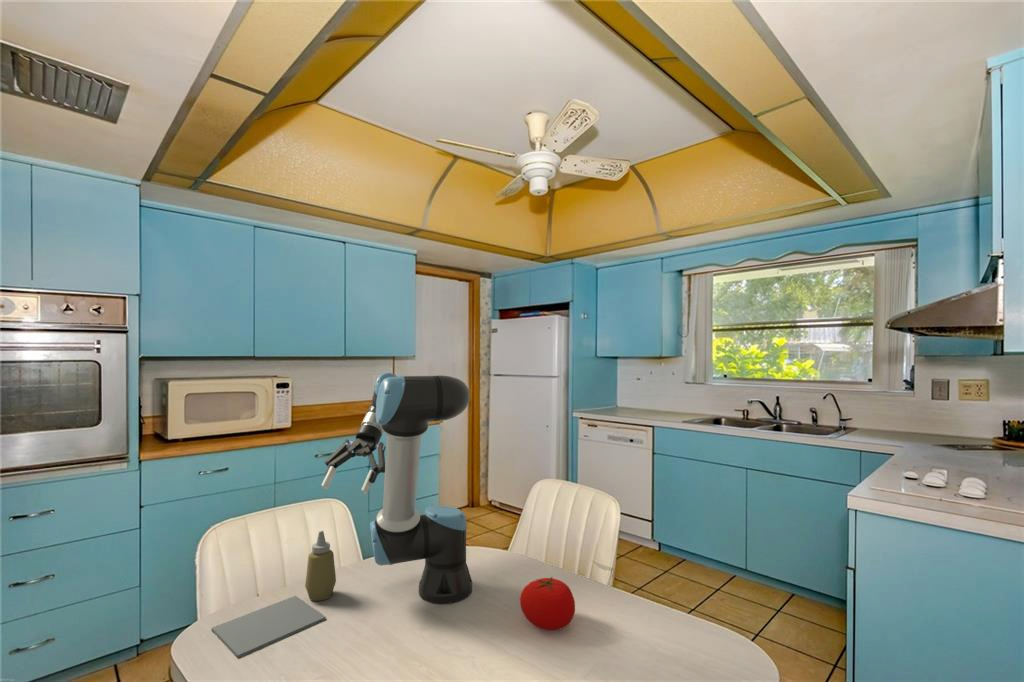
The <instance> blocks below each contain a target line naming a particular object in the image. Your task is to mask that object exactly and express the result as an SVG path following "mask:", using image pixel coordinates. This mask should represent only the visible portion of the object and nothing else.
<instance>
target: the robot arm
mask: <svg viewBox="0 0 1024 682" xmlns="http://www.w3.org/2000/svg"><path fill="white" fill-rule="evenodd" d="M373 387H374V389H373V395H372V400H371V403H370V406H369V408H368V409H367V412H366V413H365V416H364V417H363V420H362V421H361V424H360V426H359V428H358V430H357V432H356V435H355V439H354V440H353V441H351V440H349V439H348V438H346V439H344V441H343V443H342V444H341V445H340V446H339V447H338V448H337V449H336V450H335V451H334V452H333V453H332V454H330V455H329V456H328V458H327V459H326V460H325V461H324V464H325V465H326V467H327V468H326V471H325V472H324V479H323V481H322V483H321V486H322V488H323V489H324V490H326V491H328V489H329V488H330V485H331V483H332V482H333V479H334V477H335V475H336V473H337V468H338V467H340V466H341V465H343V464H344V463H345V462H347V461H349V460H350V459H351V458H355V457H364V458H366V457H368V460H369V463H370V465H371V469H369V471H368V473H367V475H366V477H365V480H364V482H363V485H362V487H361V489H360V490H361V491H362V492H363V494H364V495H368V493H369V491H370V489H371V487H372V484H374V483H375V482H376V480H377V477H378V476H379V474H380V473H383V474H384V481H383V483H384V484H383V497H382V498H383V502H382V503H383V504H382V508H381V509H380V510H379V511H378V513H377V515H376V519H374V520H373V521H370V523H369V526H370V527H369V529H370V537H371V538H370V539H371V545H372V552H373V559H374V562H375V563H376V564H377V565H378V566H393V565H395V564H402V563H407V562H413V561H420V560H424V568H423V571H422V575H421V579H420V581H419V584H418V594H419V597H420V599H422V600H424V601H425V602H427V603H431V604H437V605H448V604H453V603H457V602H460V601H463V600H465V599H467V598H468V597H469V596H470V595H471V594H472V592H473V580H472V577H471V574H470V570H469V567H468V564H467V530H468V526H467V519H466V518H467V516H466V513H464V512H463V510H461V509H459V508H456V507H453V506H449V505H431V506H428V507H427V508H425V510H424V514H421V513H420V512H419V510H418V509H417V508H416V504H417V493H418V492H417V491H418V490H417V489H418V479H419V468H420V467H419V466H420V455H421V454H420V453H421V444H422V443H421V441H422V436H423V435H424V434H426V432H427V431H428V427H429V423H430V422H431V423H432V422H442V421H448V420H450V419H454V418H456V417H457V416H459V415H461V414H462V413H463V412H464V411H465V410H466V409H467V407H468V406H469V403H470V398H471V394H470V389H469V388H468V386H467V384H466V383H465V382H464V381H463V380H461V379H459V378H457V377H453V376H450V375H412V376H411V375H405V376H404V375H399V376H397V375H396V374H393V372H384V373H382V374H380V375H379V376H378V377H377V378H376V381H375V384H374V386H373ZM383 433H385V434H386V446H385V443H384V442H383V441H380V440H381V438H382V436H383ZM376 450H377V458H378V459H377V460H378V464H377V462H376V459H375V456H374V453H373V452H374V451H376Z"/></svg>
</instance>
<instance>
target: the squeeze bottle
mask: <svg viewBox="0 0 1024 682" xmlns="http://www.w3.org/2000/svg"><path fill="white" fill-rule="evenodd" d="M336 583H337V575H336V565H335V555H334V552H333V550H332V549H331V543H330V542H329V541H327V540H326V538H325V533H324V530H320V531H318V533H317V540H316V543H314V544H312V546H311V552H310V553H309V554H308V558H307V567H306V577H305V585H304V586H305V589H306V592H307V594H308V598H309V599H310V601H313V602H314V601H315V602H319V601H325V600H327V599H329V598H330V597H331V596H333V592H334V590H335V589H334V588H335V585H336Z"/></svg>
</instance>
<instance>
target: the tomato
mask: <svg viewBox="0 0 1024 682" xmlns="http://www.w3.org/2000/svg"><path fill="white" fill-rule="evenodd" d="M519 602H520V603H519V604H520V609H521V612H522V613H523V615H524V617H525V618H526V620H527V621H528V622H530V624H532V625H533V626H535V627H536V628H538V629H542V630H544V631H557V630H558V631H559V630H562V629H564V628H565V627H567V626H568V625H569V624H570V623H571V622H572V620H573V618H574V616H575V613H576V602H575V598H574V595H573V593H572V591H571V588H570V587H569V586H568V585H567V584H566V583H565V582H564V581H562V580H559V579H556V578H553V576H551V577H544V578H539V579H538V578H535V579H534V580H533V581H530V582H529V583H528V584H527V585H525V586H524V588H523V589H522V591H521V594H520V597H519Z"/></svg>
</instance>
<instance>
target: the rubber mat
mask: <svg viewBox="0 0 1024 682" xmlns="http://www.w3.org/2000/svg"><path fill="white" fill-rule="evenodd" d="M324 619H325V620H327V616H325V615H324V614H322V612H319V611H318V610H317V609H315V608H314V607H313V606H311V605H309V604H308V603H307V602H305V601H304V600H303V599H301V598H300V597H298V596H297V595H294V596H290V597H288V598H285V599H283V600H280V601H278V602H275V603H272V604H270V605H268V606H265V607H262V608H260V609H258V610H254V611H252V612H249V613H247V614H244V615H241V616H239V617H236V618H233V619H231V620H228V621H227V622H226V621H225V622H223V623H221V624H218V625H216V626H212V627H211V631H212V633H213V634H214V635H215V634H216V635H217V636H216V635H215V636H216V637H217V638H218V639H219V640H220V641H221V642H222V643H223V644H224V645H225V646H226V647H227V649H229V650H230V652H231V653H232V654H233V655H234V656H235V657H236V658H237V659H238V658H242V657H244V656H245V655H248V654H249V653H252V652H255V651H257V650H259V649H261V648H264V647H266V646H268V645H271V644H273V643H275V642H277V640H278V641H280V640H282V639H284V638H286V637H288V635H289V636H290V635H293V634H295V633H298V632H299V631H302V630H305V629H307V628H310V627H312V626H314V625H316V624H317V622H318V623H320V621H321V622H323V621H325V620H324ZM279 639H280V640H279Z"/></svg>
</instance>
